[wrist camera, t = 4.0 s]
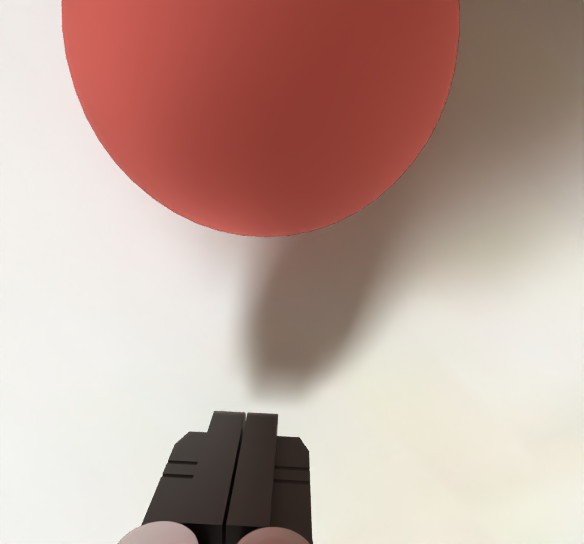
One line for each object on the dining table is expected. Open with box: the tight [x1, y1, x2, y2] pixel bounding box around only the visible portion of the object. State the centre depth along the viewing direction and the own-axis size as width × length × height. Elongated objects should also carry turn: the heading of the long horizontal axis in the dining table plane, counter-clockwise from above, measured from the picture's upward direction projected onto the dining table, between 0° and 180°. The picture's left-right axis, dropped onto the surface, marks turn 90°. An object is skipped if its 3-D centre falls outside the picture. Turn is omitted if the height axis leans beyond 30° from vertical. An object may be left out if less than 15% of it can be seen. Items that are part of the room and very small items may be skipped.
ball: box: [62, 0, 459, 237], centre depth 8 cm, size 6×6×6 cm
